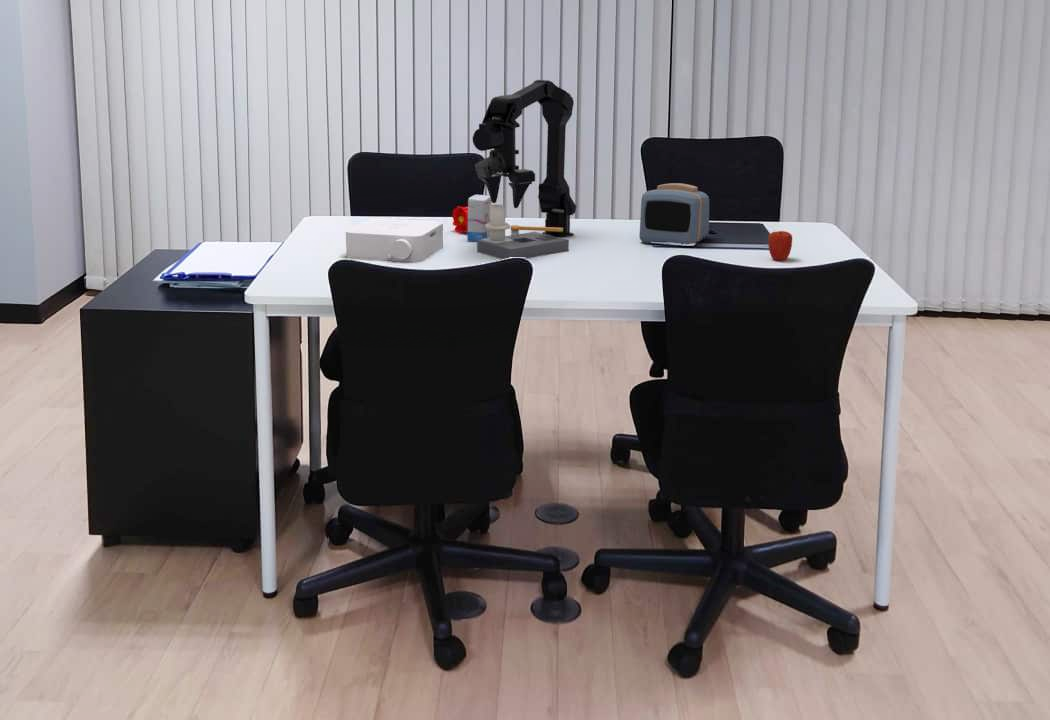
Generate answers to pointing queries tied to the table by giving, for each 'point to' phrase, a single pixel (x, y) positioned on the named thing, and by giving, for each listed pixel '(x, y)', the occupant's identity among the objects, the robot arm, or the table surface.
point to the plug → (497, 223)
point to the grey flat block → (523, 245)
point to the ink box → (478, 217)
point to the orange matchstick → (535, 228)
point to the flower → (460, 219)
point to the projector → (394, 240)
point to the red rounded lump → (780, 245)
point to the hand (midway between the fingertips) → (504, 205)
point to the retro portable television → (674, 214)
